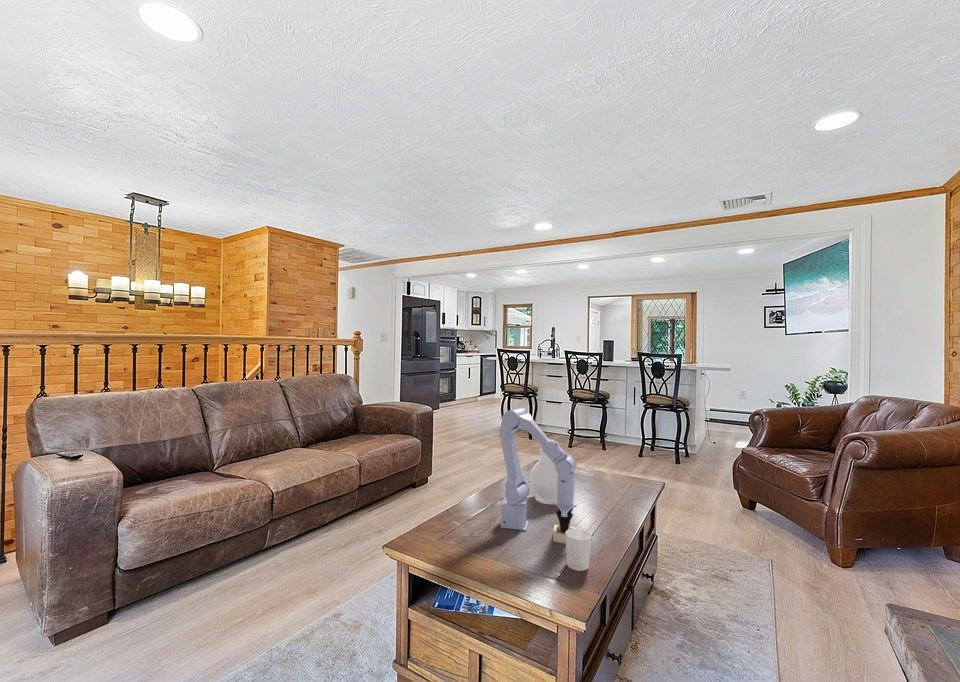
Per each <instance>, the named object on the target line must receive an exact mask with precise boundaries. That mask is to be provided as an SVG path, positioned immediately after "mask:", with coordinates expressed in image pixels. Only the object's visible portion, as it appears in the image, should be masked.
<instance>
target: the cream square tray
mask: <svg viewBox="0 0 960 682" xmlns="http://www.w3.org/2000/svg"><path fill="white" fill-rule="evenodd" d="M558 525H559V524H554V525H553V532H552V542H553V543H557V544H565V545H566V534H563V533H558ZM573 528H576V527H575V526H570V529H573Z"/></svg>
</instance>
